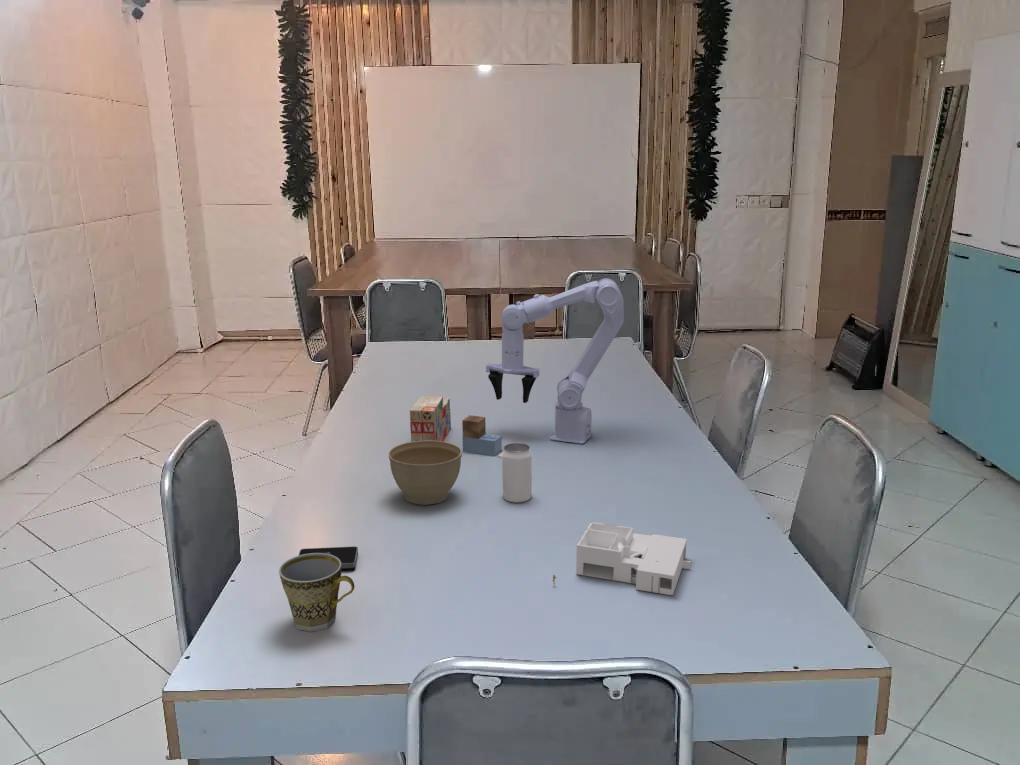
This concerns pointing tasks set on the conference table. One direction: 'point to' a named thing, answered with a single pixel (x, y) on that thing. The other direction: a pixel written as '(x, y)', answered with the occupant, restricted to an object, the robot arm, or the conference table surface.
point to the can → (517, 473)
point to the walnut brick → (474, 427)
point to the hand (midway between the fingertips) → (512, 400)
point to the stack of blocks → (430, 419)
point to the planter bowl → (425, 470)
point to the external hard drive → (338, 555)
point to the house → (631, 557)
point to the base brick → (483, 445)
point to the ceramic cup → (313, 589)
